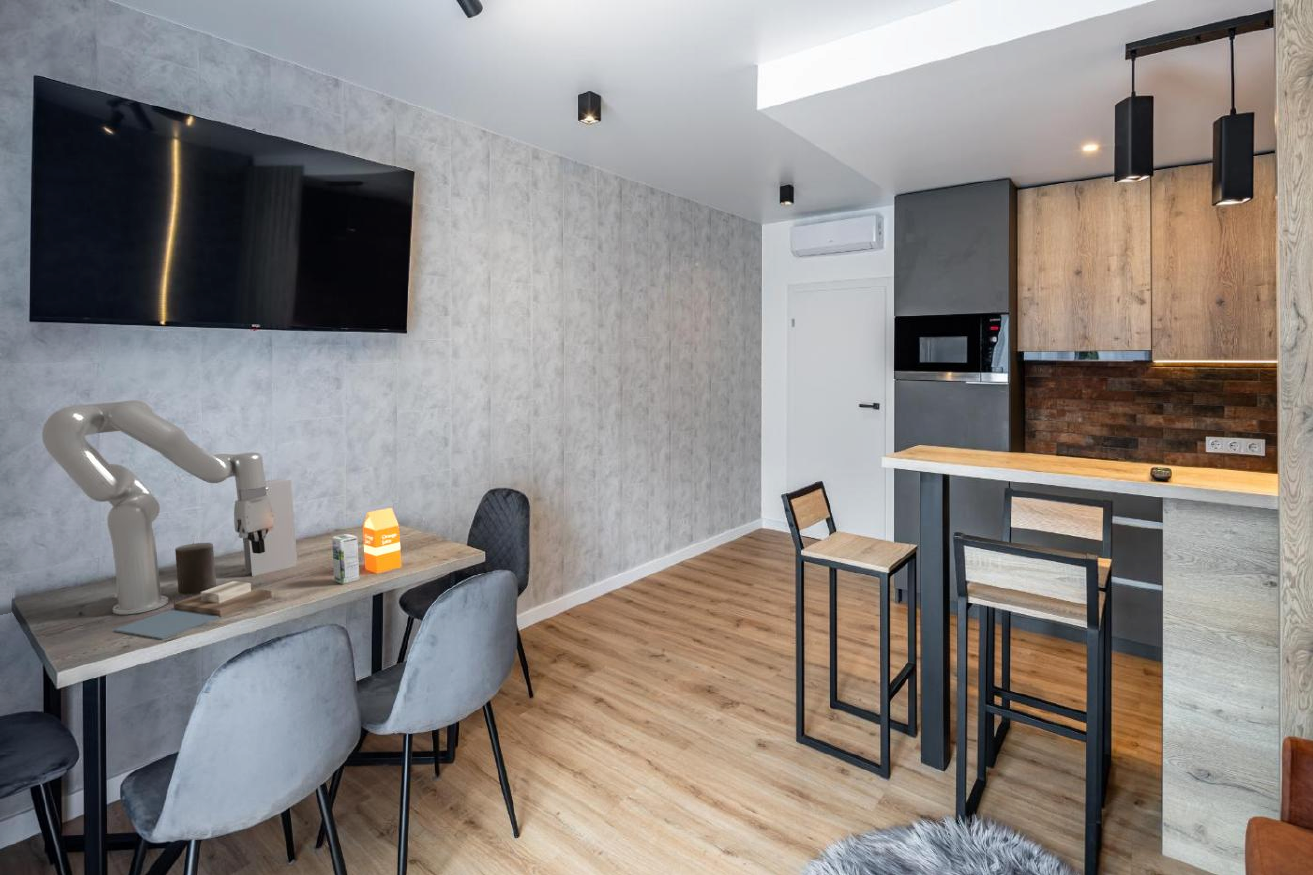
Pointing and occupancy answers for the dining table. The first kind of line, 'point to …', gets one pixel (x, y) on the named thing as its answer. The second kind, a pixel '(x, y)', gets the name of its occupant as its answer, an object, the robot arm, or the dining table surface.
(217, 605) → the board
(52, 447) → the robot arm
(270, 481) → the tall grey block
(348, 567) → the syrup box
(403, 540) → the dining table surface
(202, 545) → the pillar candle
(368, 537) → the orange juice
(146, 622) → the mat
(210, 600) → the tile
